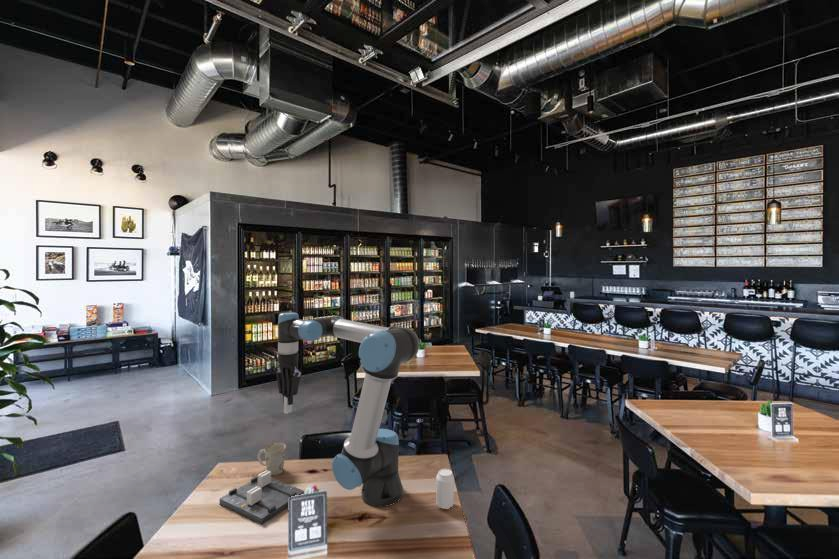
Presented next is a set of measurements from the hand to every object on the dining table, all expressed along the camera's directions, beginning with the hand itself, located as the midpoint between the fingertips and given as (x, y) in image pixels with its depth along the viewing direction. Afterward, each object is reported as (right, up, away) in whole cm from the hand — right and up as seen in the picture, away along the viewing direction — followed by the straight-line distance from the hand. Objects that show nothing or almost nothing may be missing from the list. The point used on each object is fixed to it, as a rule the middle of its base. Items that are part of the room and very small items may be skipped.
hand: (288, 412), depth 147 cm
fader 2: (-6, -24, -7) cm, 26 cm away
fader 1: (-5, -24, -18) cm, 31 cm away
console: (-4, -27, -13) cm, 30 cm away
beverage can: (+60, -27, -16) cm, 68 cm away
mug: (-9, -27, +7) cm, 29 cm away
